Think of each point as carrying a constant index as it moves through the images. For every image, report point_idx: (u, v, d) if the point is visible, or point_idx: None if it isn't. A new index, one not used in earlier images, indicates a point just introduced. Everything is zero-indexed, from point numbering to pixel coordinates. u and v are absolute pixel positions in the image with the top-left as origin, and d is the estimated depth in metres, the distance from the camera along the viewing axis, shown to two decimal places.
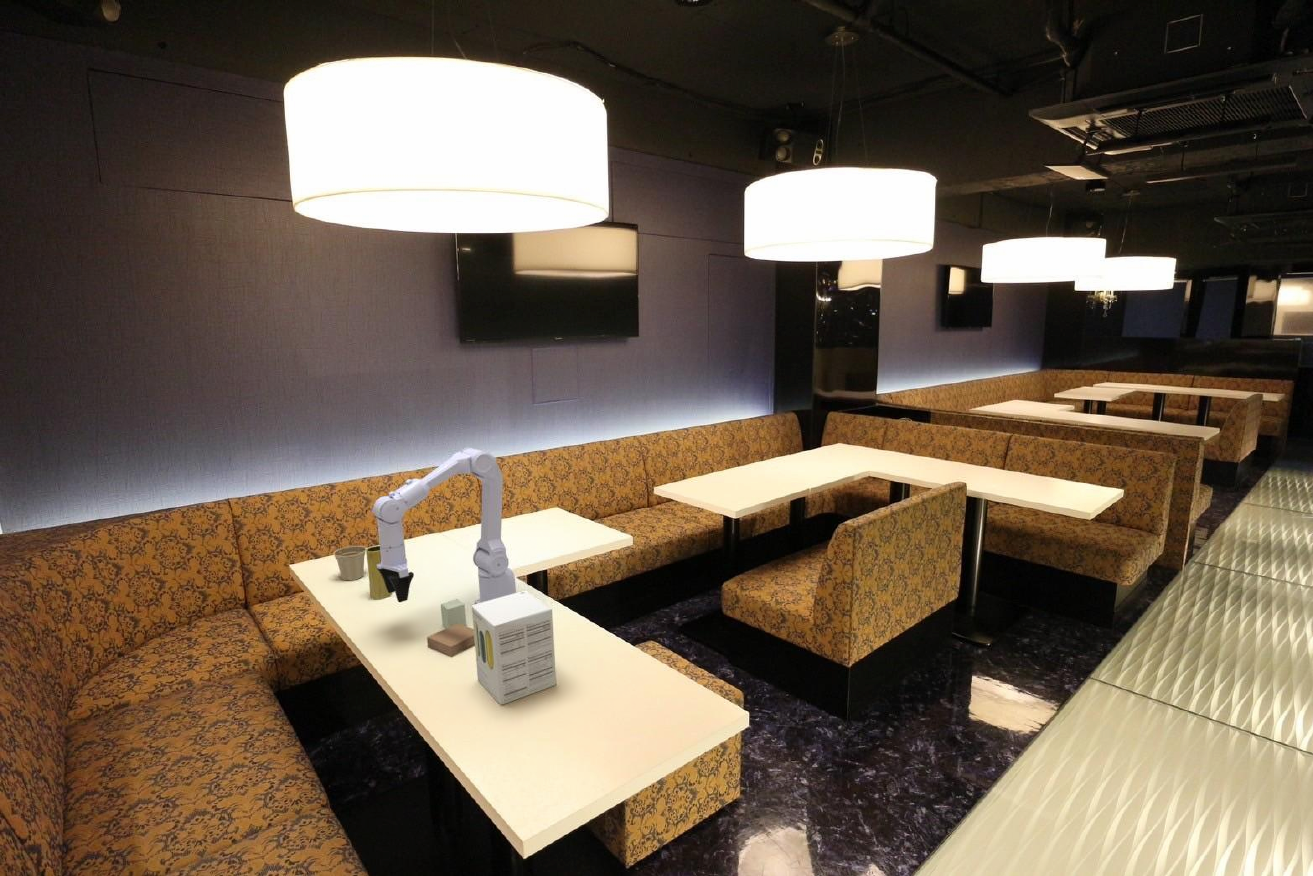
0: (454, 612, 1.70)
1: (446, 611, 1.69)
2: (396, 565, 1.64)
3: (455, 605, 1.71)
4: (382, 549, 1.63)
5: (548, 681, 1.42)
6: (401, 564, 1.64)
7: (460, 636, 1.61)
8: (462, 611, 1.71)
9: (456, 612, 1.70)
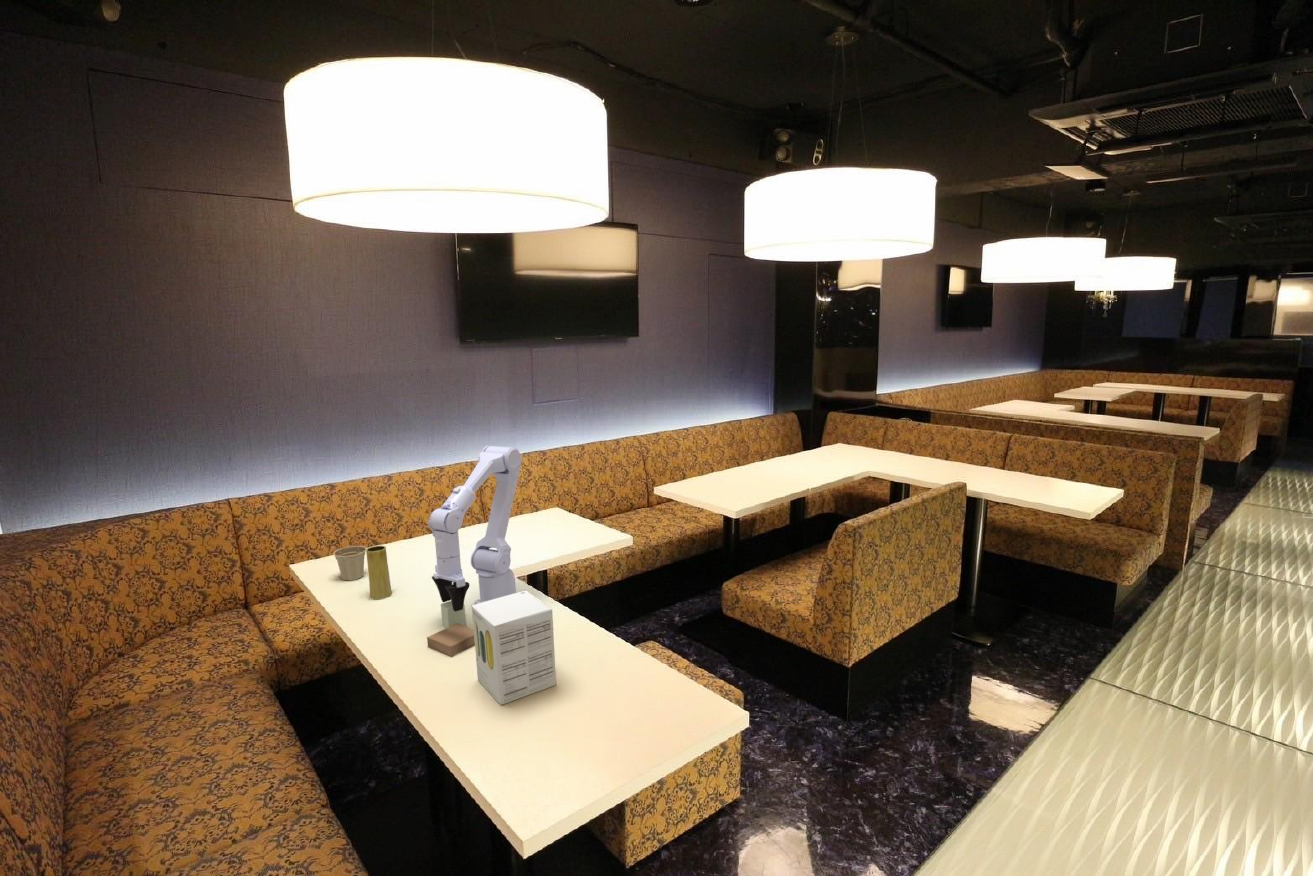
0: (454, 612, 1.70)
1: (446, 611, 1.69)
2: (452, 575, 1.68)
3: None
4: (439, 559, 1.67)
5: (548, 681, 1.42)
6: (457, 574, 1.69)
7: (460, 636, 1.61)
8: (462, 611, 1.71)
9: (456, 612, 1.70)
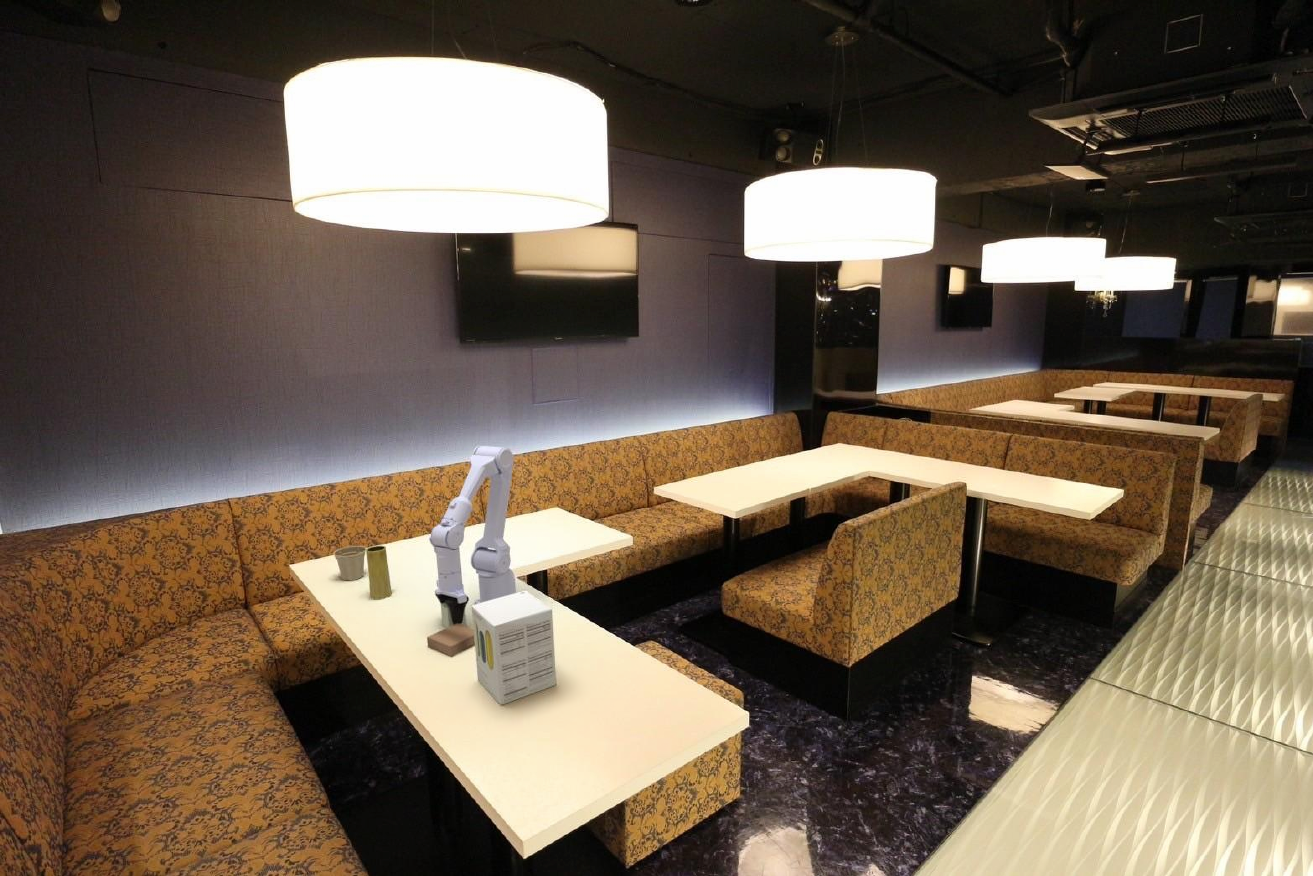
0: None
1: (446, 611, 1.69)
2: (454, 591, 1.68)
3: None
4: (440, 575, 1.68)
5: (548, 681, 1.42)
6: (458, 590, 1.69)
7: (460, 636, 1.61)
8: None
9: None
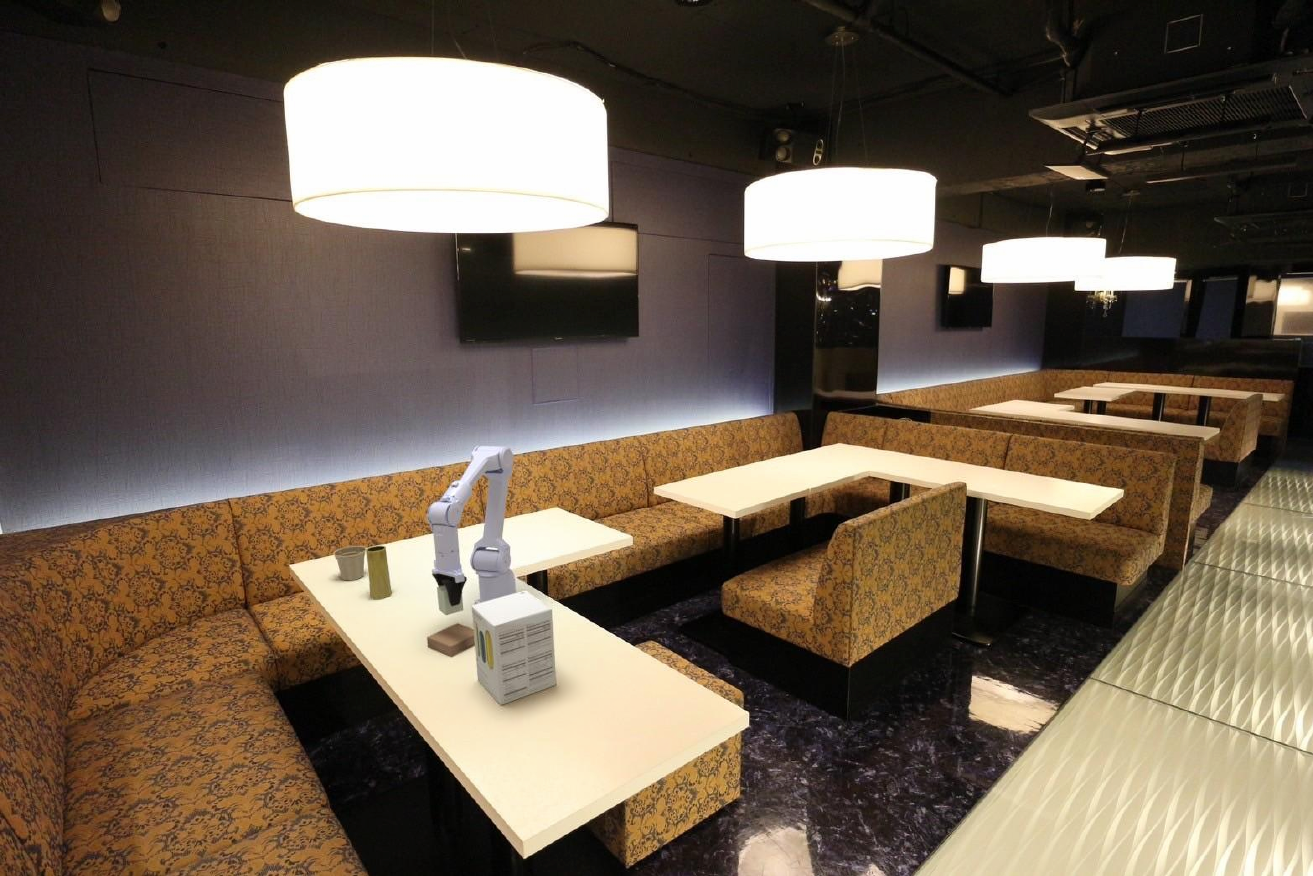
0: None
1: (442, 594, 1.64)
2: (451, 570, 1.63)
3: None
4: (438, 554, 1.62)
5: (548, 681, 1.42)
6: (456, 569, 1.64)
7: (460, 636, 1.61)
8: None
9: None
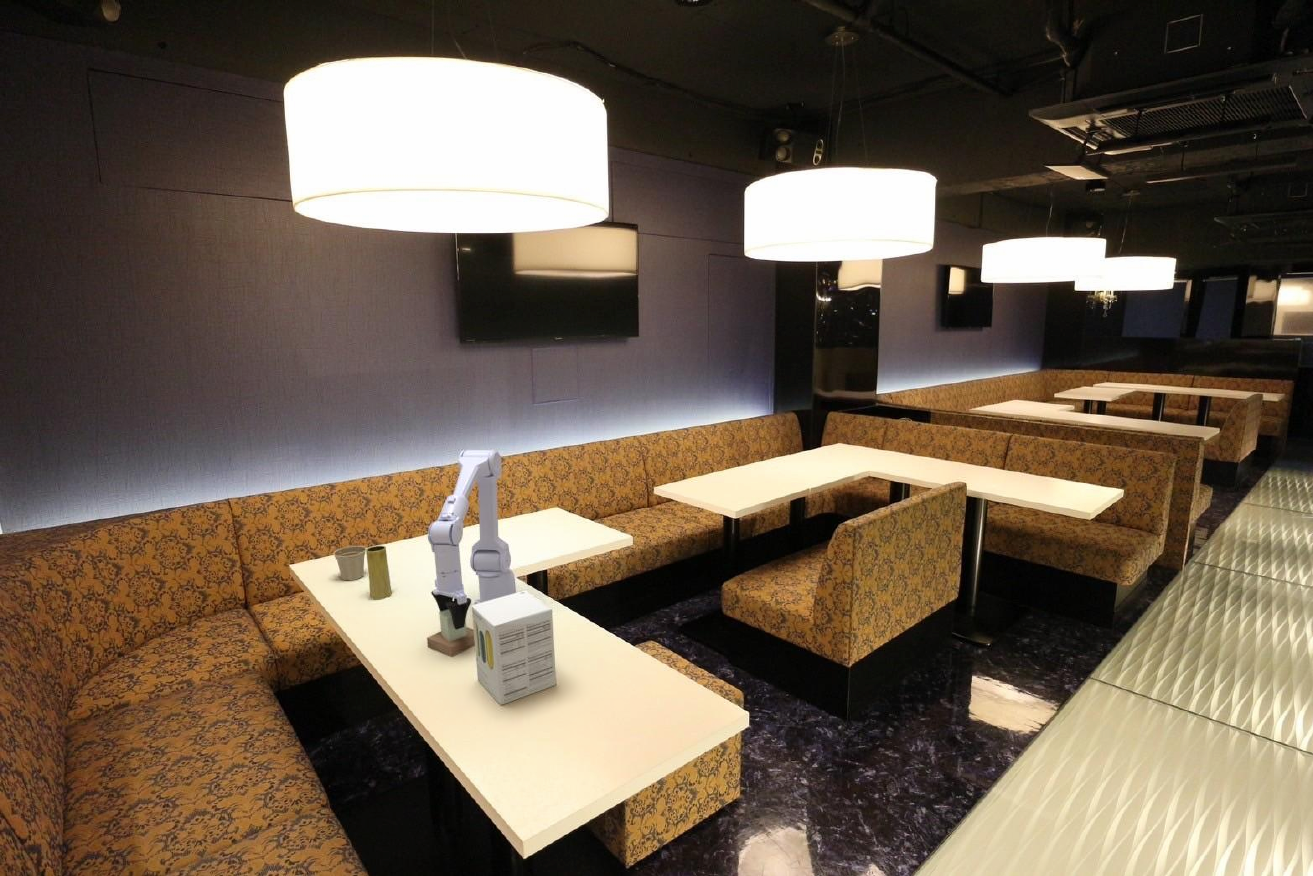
0: None
1: (445, 620, 1.59)
2: (453, 591, 1.58)
3: None
4: (439, 574, 1.57)
5: (548, 681, 1.42)
6: (458, 590, 1.58)
7: None
8: None
9: None
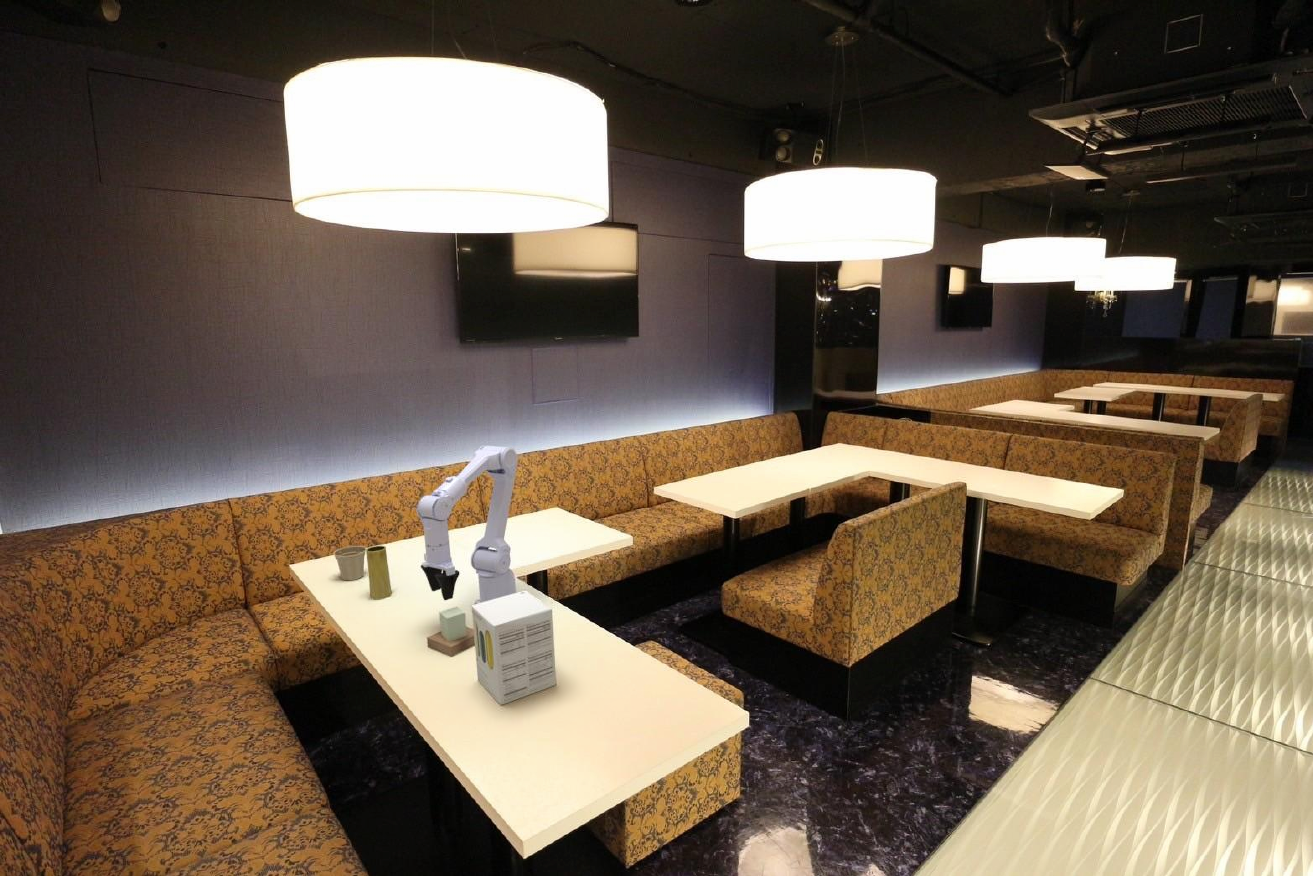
0: (454, 621, 1.59)
1: (445, 620, 1.58)
2: (442, 563, 1.64)
3: (455, 613, 1.60)
4: (428, 547, 1.64)
5: (548, 681, 1.42)
6: (446, 562, 1.65)
7: None
8: (462, 620, 1.60)
9: (456, 621, 1.59)
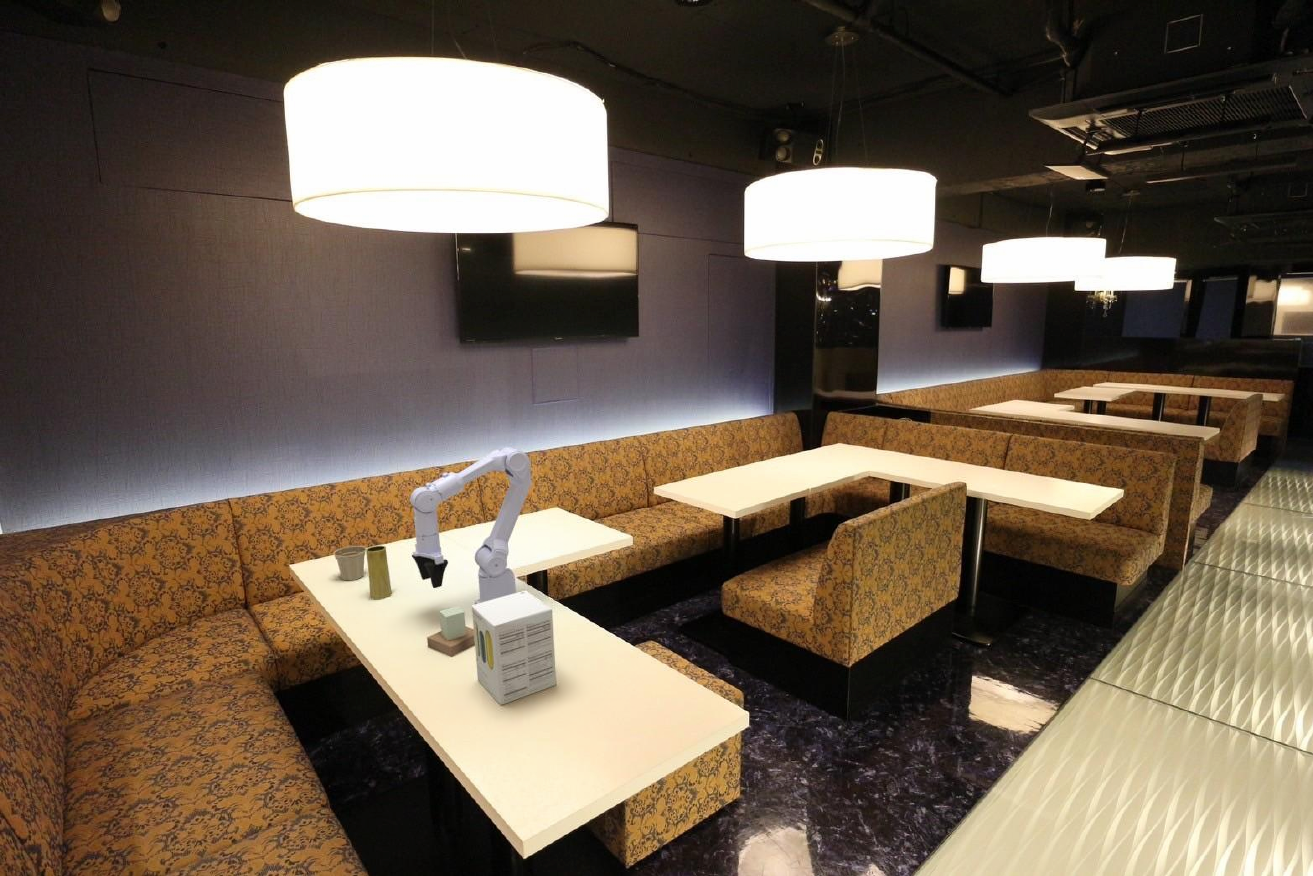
0: (453, 620, 1.59)
1: (445, 619, 1.59)
2: (431, 553, 1.72)
3: (454, 612, 1.60)
4: (418, 537, 1.71)
5: (548, 681, 1.42)
6: (436, 552, 1.73)
7: None
8: (462, 619, 1.61)
9: (455, 620, 1.60)
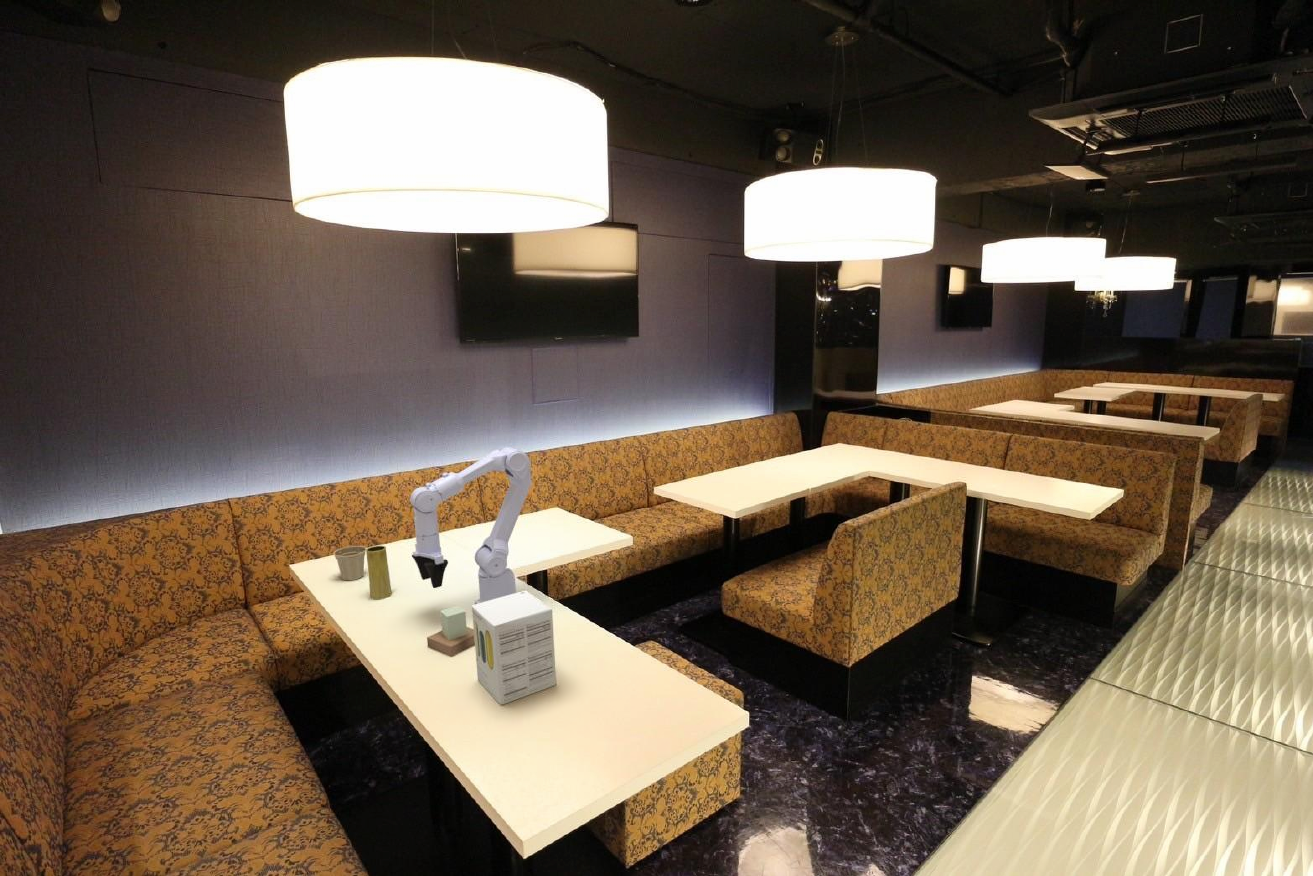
0: (454, 620, 1.60)
1: (446, 619, 1.59)
2: (431, 553, 1.72)
3: (455, 612, 1.61)
4: (418, 537, 1.71)
5: (548, 681, 1.42)
6: (436, 552, 1.73)
7: None
8: (463, 619, 1.61)
9: (456, 620, 1.60)
